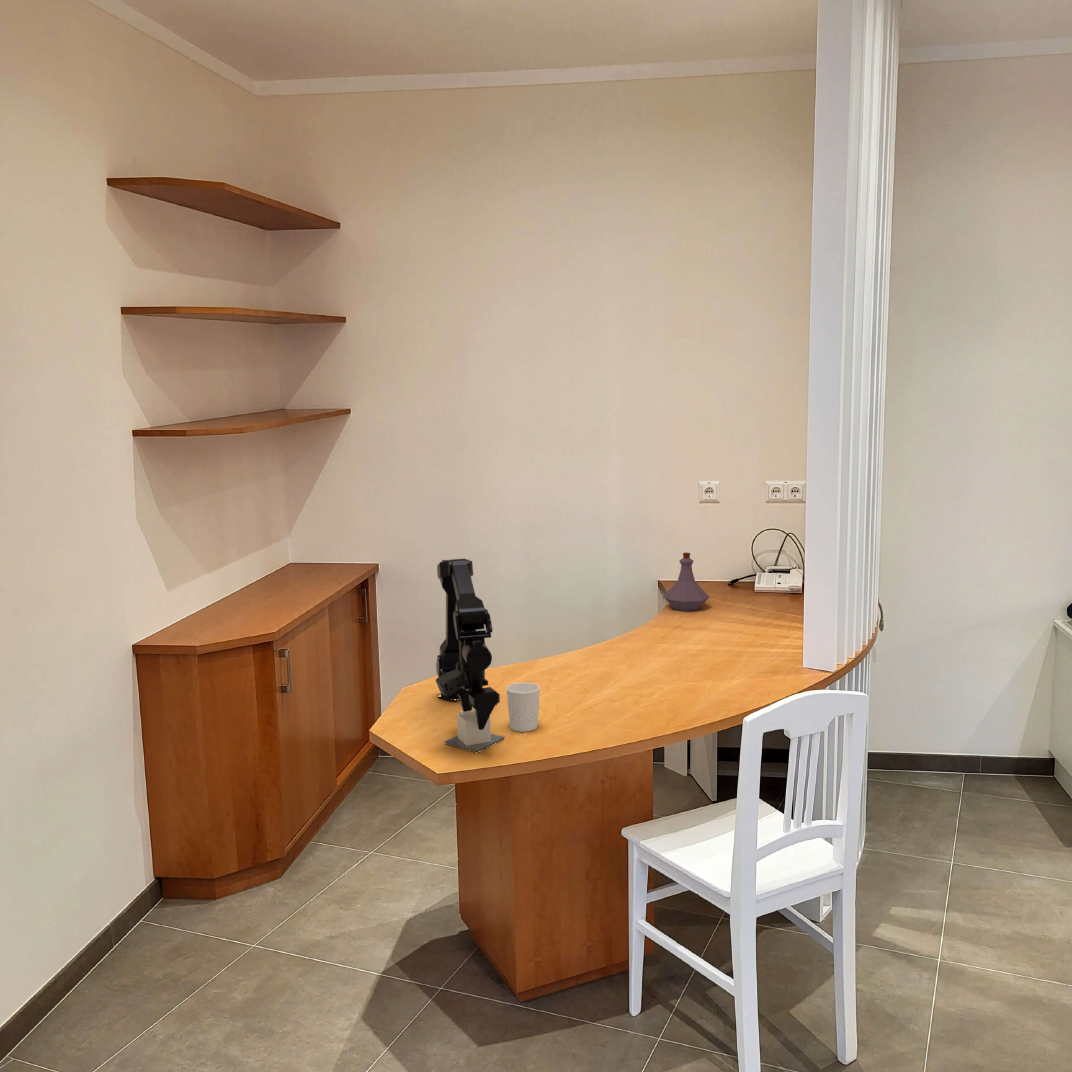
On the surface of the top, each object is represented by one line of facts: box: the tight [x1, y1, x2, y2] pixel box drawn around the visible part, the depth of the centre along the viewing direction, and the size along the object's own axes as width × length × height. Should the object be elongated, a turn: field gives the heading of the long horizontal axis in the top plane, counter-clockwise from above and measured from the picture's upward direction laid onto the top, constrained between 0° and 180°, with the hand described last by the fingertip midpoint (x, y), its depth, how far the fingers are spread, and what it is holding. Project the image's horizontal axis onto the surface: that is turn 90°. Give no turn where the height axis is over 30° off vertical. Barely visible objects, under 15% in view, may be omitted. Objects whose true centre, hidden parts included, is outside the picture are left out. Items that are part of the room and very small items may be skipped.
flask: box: [662, 552, 710, 612], centre depth 353 cm, size 16×16×20 cm
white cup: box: [506, 682, 540, 733], centre depth 240 cm, size 8×8×10 cm
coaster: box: [443, 733, 506, 754], centre depth 232 cm, size 10×10×1 cm
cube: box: [456, 709, 492, 746], centre depth 231 cm, size 6×6×6 cm
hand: (474, 723), depth 231 cm, fingers open, 9 cm apart
